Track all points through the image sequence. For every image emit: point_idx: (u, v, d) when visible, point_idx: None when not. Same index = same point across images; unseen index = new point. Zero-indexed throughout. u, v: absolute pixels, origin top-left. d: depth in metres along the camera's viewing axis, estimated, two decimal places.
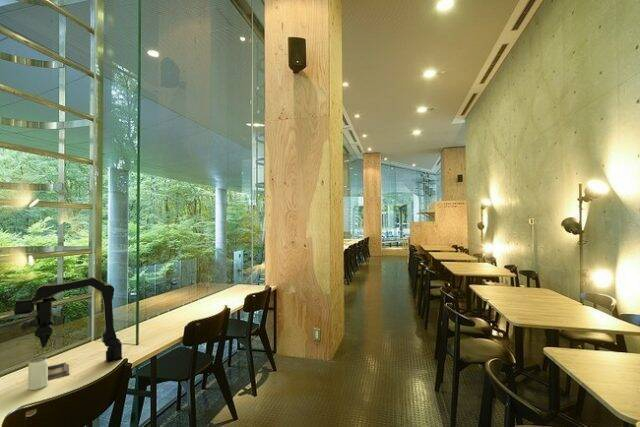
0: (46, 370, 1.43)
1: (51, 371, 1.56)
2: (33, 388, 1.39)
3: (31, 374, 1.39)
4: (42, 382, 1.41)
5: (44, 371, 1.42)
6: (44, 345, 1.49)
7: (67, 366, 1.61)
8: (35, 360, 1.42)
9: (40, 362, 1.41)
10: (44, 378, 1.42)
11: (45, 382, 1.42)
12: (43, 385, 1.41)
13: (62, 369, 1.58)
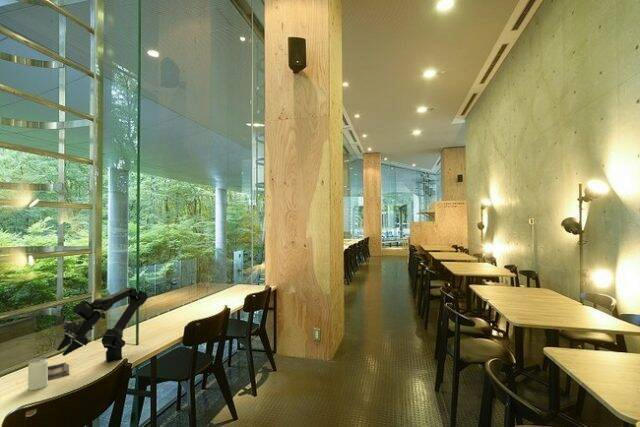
0: (46, 370, 1.43)
1: (51, 371, 1.56)
2: (33, 388, 1.39)
3: (31, 374, 1.39)
4: (42, 382, 1.41)
5: (44, 371, 1.42)
6: (65, 353, 1.46)
7: (67, 366, 1.61)
8: (35, 360, 1.42)
9: (40, 362, 1.41)
10: (44, 378, 1.42)
11: (45, 382, 1.42)
12: (43, 385, 1.41)
13: (62, 369, 1.58)
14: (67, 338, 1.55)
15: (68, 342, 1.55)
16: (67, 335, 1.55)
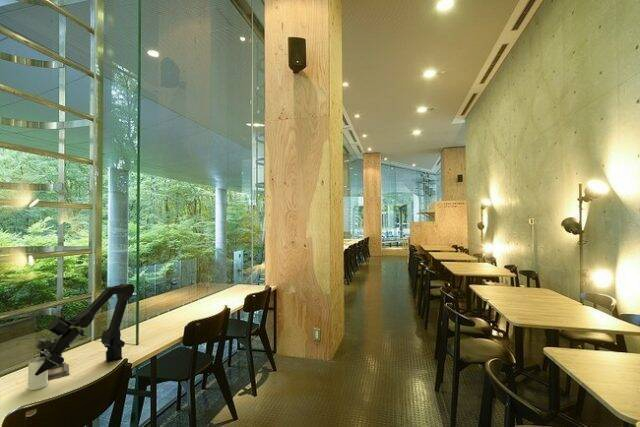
0: (46, 370, 1.43)
1: (51, 371, 1.56)
2: (33, 388, 1.39)
3: (31, 374, 1.39)
4: (42, 382, 1.41)
5: None
6: (38, 373, 1.40)
7: (67, 366, 1.61)
8: (35, 360, 1.42)
9: (40, 362, 1.41)
10: (44, 378, 1.42)
11: (45, 382, 1.42)
12: (43, 385, 1.41)
13: (62, 369, 1.58)
14: None
15: None
16: (43, 354, 1.47)
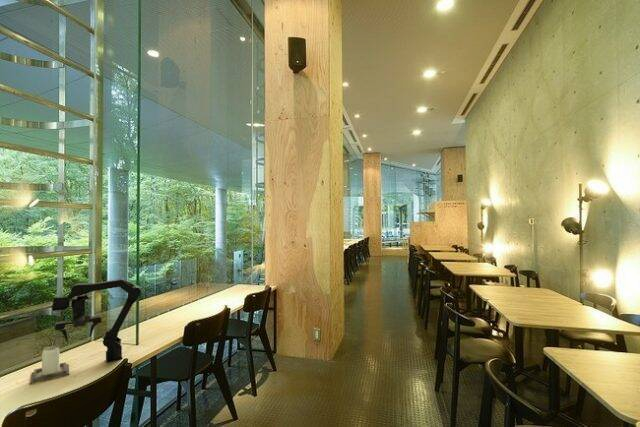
0: (58, 357, 1.55)
1: None
2: (46, 374, 1.51)
3: (45, 361, 1.51)
4: (54, 368, 1.53)
5: (56, 358, 1.54)
6: (90, 335, 1.67)
7: (67, 366, 1.61)
8: (48, 348, 1.54)
9: (52, 350, 1.53)
10: (56, 365, 1.54)
11: (57, 368, 1.54)
12: (55, 371, 1.53)
13: (62, 369, 1.58)
14: None
15: (66, 331, 1.62)
16: (65, 328, 1.59)
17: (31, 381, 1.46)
